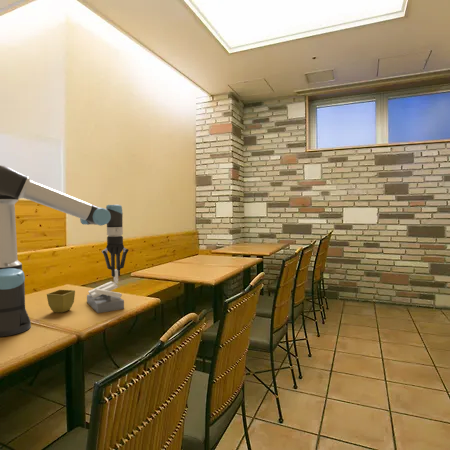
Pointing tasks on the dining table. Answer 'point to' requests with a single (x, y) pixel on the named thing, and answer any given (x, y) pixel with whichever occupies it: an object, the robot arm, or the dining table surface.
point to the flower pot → (61, 300)
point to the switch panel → (105, 303)
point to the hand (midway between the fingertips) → (115, 282)
